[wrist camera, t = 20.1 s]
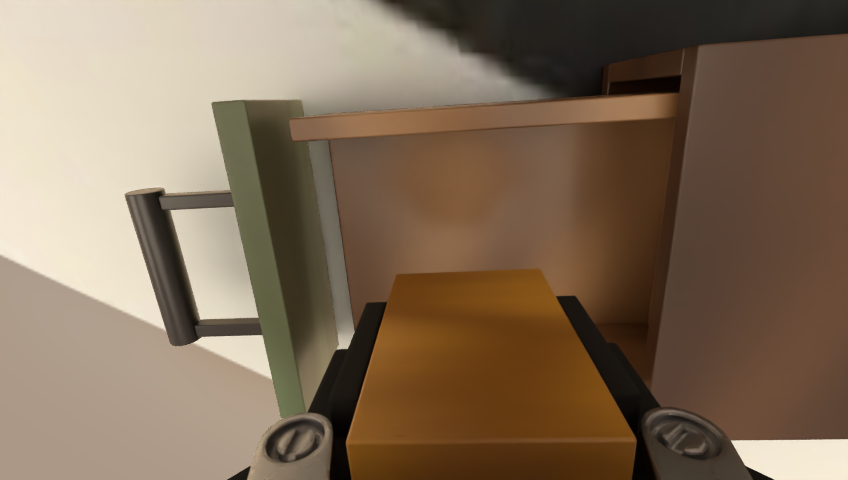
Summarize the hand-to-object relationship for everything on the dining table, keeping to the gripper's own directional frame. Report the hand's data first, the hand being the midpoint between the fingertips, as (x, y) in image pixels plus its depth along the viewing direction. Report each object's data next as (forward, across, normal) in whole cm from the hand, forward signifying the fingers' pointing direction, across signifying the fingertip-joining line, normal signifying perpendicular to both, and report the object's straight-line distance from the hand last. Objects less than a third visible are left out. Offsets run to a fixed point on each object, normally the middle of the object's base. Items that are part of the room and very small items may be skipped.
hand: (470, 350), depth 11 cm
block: (+1, 0, 0) cm, 1 cm away
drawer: (+10, +2, 0) cm, 11 cm away
